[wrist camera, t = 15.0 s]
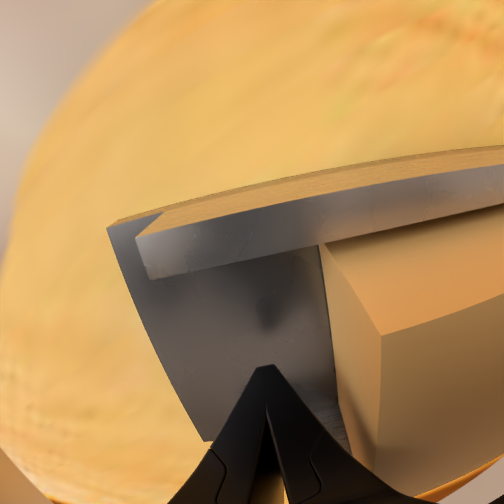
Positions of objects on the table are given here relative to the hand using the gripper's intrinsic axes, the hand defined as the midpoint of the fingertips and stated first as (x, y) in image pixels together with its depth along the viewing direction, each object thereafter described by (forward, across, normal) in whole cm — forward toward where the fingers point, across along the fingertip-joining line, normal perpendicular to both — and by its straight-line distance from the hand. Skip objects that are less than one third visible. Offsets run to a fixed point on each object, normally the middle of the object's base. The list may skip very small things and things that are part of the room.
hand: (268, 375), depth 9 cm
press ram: (+1, -8, 0) cm, 8 cm away
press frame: (+2, -9, 0) cm, 9 cm away
